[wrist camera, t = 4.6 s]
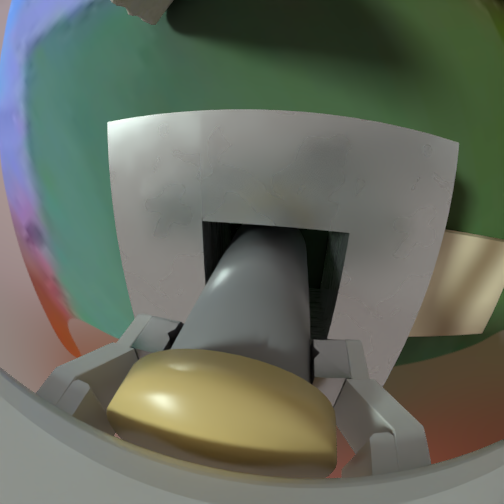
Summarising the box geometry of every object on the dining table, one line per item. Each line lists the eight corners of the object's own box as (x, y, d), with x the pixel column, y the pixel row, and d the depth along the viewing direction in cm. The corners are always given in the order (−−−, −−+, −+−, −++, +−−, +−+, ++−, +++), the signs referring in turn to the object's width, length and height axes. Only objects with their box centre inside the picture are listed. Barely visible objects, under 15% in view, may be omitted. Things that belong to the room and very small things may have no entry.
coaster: (514, 241, 13) (518, 245, 12) (479, 329, 16) (481, 333, 16) (440, 228, 14) (444, 231, 13) (405, 331, 17) (408, 336, 16)
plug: (323, 208, 13) (376, 418, 3) (311, 296, 15) (309, 495, 5) (220, 200, 14) (70, 362, 4) (222, 287, 16) (143, 465, 6)
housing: (411, 136, 12) (459, 142, 7) (365, 340, 18) (377, 394, 13) (160, 121, 14) (107, 122, 9) (177, 321, 20) (150, 369, 15)
